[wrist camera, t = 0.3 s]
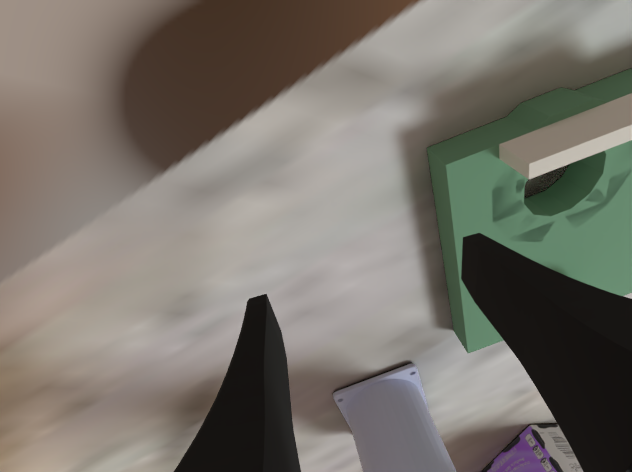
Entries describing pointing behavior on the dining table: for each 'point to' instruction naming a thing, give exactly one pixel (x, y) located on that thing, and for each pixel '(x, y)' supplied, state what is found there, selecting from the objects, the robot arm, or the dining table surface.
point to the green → (548, 206)
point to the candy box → (537, 452)
